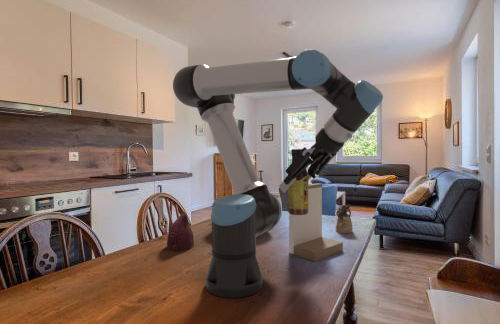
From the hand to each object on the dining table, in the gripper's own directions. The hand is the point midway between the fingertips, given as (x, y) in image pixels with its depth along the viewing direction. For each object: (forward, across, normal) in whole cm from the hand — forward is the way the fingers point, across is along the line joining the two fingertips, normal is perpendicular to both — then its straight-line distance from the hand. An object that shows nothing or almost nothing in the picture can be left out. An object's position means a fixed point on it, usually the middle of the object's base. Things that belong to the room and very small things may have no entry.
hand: (289, 188), depth 94 cm
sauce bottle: (+3, 0, -8) cm, 8 cm away
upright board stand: (+17, +15, -16) cm, 28 cm away
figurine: (+24, +46, -10) cm, 53 cm away
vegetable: (+45, -18, +10) cm, 49 cm away
